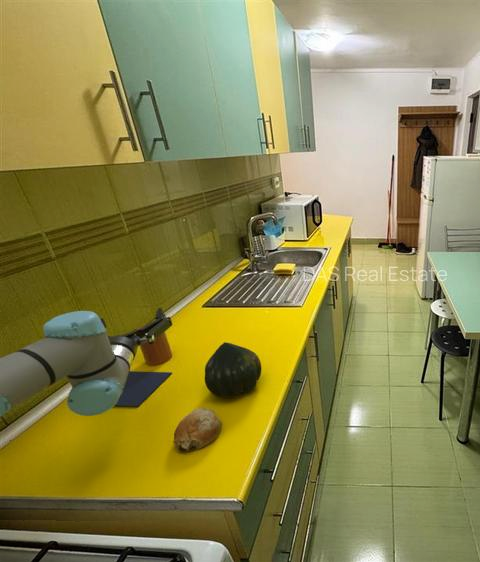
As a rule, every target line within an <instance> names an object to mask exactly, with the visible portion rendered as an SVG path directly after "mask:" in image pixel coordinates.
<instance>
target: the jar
mask: <svg viewBox="0 0 480 562" xmlns="http://www.w3.org/2000/svg"><path fill="white" fill-rule="evenodd" d="M146 325H147V324H145V325H141V326H140V327H139V328H137V329H140V328H142V327H144V326H146ZM134 335H136V334H134ZM138 347H139V348H140V351H141V354H142V356H143V359H144V361H145V363H146V365H147V366H149V367H155V366H156V367H157V366H161V365H163V364H165V363H167V362H169V361H170V360H171V359H172V358H173V352H172V349H171V346H170V343H169V339H168V337H167V334H166V331H165V332H164V333H163V334H162V335H160V336H159V337H158V338H157V339H156V340H155V342H154V343H153V344H148V342H145V343H141V345H139V346H138Z"/></svg>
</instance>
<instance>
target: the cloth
mask: <svg viewBox="0 0 480 562" xmlns="http://www.w3.org/2000/svg"><path fill="white" fill-rule="evenodd" d="M172 375H173V371H138V370H136V371H135V370H130V371H129V374H128V377H127V380H126V383H125V386H124V389H123V392H122V394H121V396H120V397H119V399H118V401H117V403H116V404H115V406H114V407H116V408H118V407H119V408H139V407H140V406H141V405H142V404H143V403H144V402H145V401H146V400H147V399H148V398H150V396H151V395H152V394H153V393H154V392H156V390H157V389H158V388H159V387H160V386H161V385H162V384H163V383H164V382H165V381H167V379H169V377H171V376H172ZM114 407H113V408H114Z"/></svg>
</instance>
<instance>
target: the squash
mask: <svg viewBox="0 0 480 562" xmlns="http://www.w3.org/2000/svg"><path fill="white" fill-rule="evenodd" d="M262 369H263V368H262V362H261V360H260V358H259V356H258V355H257V354H256V352H254V351H252V350H251V349H249V348H246V347H243V346H240V345H237V344H234V343H231V342H226V341H224V342H223V343H222V344H220V345H219V346H218V348H217V349H215V351H214V353H212V355H211V356H210V357H209V359H208V360H207V361H206V364H205V365H204V383H205V386H206V388H207V390H208V391H209V392H210V393H211V394H212V395H214V396H216V397H218V398H219V397H220V398H221V397H225V398H231V397H232V396H234V394H235V395H240V394H241V393H242V392H246V393H247V392H251V391H253V390H254V389H255V388H256V385H257V382H258V381H259V379H260V378H261V375H262Z"/></svg>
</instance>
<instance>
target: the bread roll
mask: <svg viewBox="0 0 480 562" xmlns="http://www.w3.org/2000/svg"><path fill="white" fill-rule="evenodd" d="M222 423H223V422H222V421H221V420H220V418H219V416H218V414H216V413H215V411H213V410H212V409H211V408H206V407H203V408H196V409H193V410H192V411H190V412H189V413H188V414H187V415H185V416H184V417H183V418H182V419H181V420H180V421H179V423H178V424H177V426H176V427H175V430H174V433H173V443H174V444H175V447H176V448H177V450H178V451H179V452H185V451H186V452H192V451H193V452H194V451H197V450H200V449H202V448H204V447H206V446H207V445H209V444H211V443H212V442H213V441H214V440H215V439H216V438H217V437H218V435H219V434H220V432H221V430H222Z"/></svg>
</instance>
